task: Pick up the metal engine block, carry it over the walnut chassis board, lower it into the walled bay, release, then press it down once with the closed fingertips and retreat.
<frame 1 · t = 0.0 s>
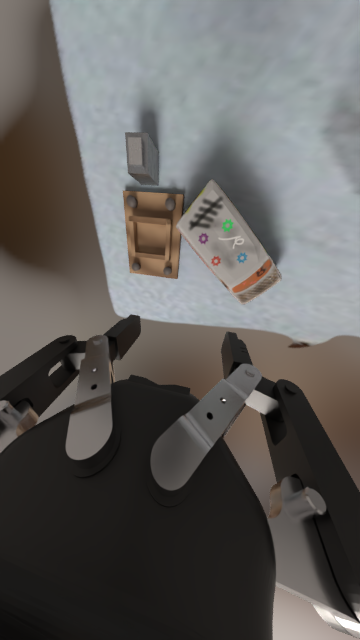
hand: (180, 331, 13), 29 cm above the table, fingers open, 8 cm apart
engine block: (149, 169, 30), on the table
chassis: (154, 239, 36), on the table
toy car: (227, 251, 35), on the table
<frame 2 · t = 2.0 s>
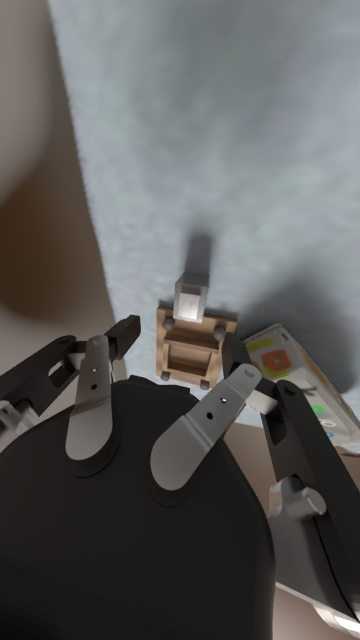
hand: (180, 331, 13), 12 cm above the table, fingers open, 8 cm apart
engine block: (194, 290, 23), on the table
chassis: (190, 350, 29), on the table
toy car: (282, 371, 28), on the table
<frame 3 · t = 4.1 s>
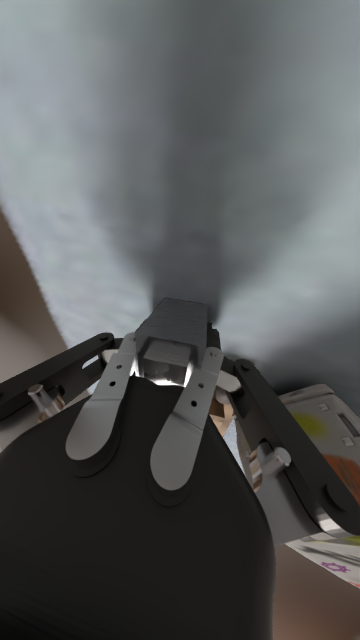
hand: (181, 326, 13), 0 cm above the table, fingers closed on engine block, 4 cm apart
engine block: (183, 324, 14), on the table, touching gripper
chassis: (180, 400, 20), on the table
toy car: (316, 435, 19), on the table, touching chassis
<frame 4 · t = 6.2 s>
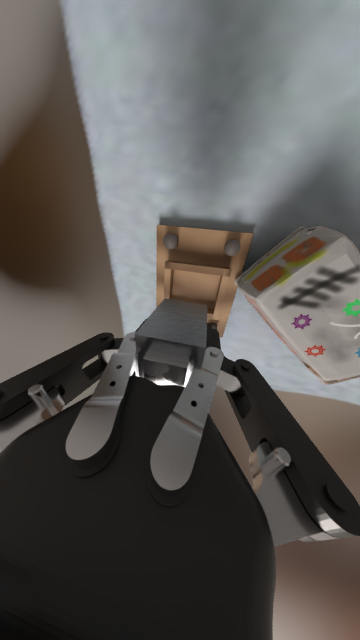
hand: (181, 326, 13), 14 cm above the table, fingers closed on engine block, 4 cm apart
engine block: (183, 324, 14), point 13 cm above the table, touching gripper
chassis: (195, 287, 25), on the table
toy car: (300, 308, 24), on the table
when the fingers open (3 cm above the table, at t = 8.3 s): engine block drops 1 cm, resting on chassis.
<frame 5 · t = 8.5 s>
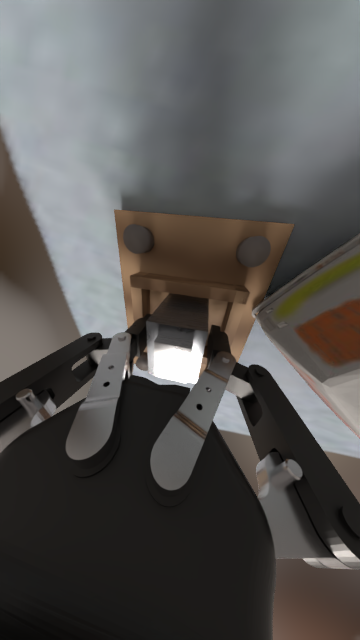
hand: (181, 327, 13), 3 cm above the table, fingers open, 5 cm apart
engine block: (186, 317, 15), point 1 cm above the table, touching chassis
chassis: (186, 313, 16), on the table
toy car: (356, 350, 15), on the table
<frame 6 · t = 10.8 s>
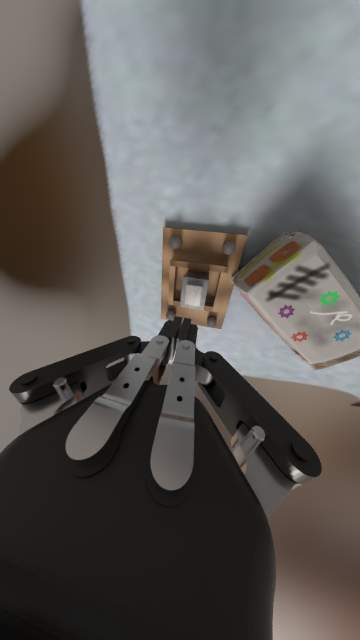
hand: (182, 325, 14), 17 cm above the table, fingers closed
engine block: (196, 284, 27), point 1 cm above the table, touching chassis
chassis: (196, 283, 28), on the table
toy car: (290, 302, 27), on the table, touching chassis
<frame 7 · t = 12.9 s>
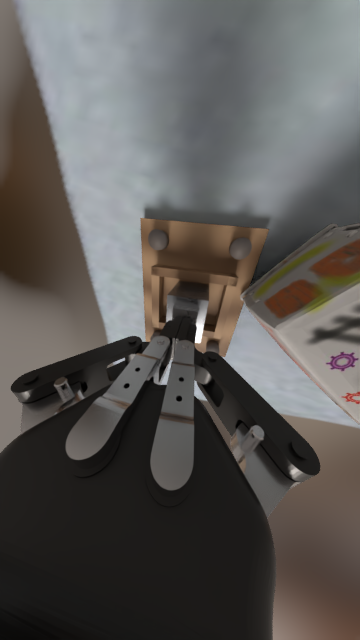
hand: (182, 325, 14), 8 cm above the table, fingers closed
engine block: (191, 300, 19), point 1 cm above the table, touching chassis, gripper
chassis: (191, 297, 20), on the table
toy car: (323, 326, 19), on the table
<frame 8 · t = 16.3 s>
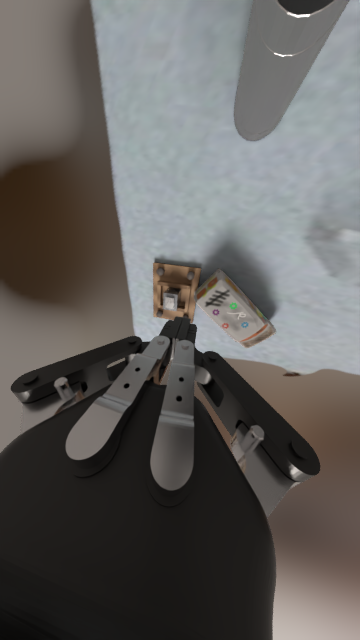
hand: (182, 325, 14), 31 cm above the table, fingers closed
engine block: (174, 295, 44), point 1 cm above the table, touching chassis
chassis: (175, 294, 45), on the table
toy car: (232, 306, 44), on the table, touching chassis
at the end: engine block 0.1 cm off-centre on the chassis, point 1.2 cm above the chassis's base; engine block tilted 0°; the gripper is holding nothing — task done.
